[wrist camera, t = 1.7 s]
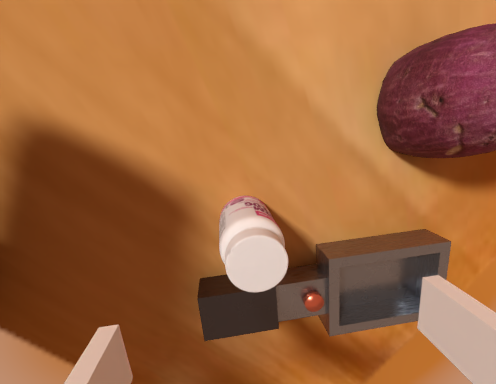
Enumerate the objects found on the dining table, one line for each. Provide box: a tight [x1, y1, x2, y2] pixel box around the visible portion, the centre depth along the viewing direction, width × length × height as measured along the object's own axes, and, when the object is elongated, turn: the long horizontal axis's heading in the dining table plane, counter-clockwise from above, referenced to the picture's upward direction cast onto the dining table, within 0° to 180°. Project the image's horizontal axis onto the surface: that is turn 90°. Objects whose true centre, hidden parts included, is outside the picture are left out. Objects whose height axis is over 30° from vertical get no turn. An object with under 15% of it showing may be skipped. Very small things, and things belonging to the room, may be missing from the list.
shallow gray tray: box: [198, 229, 451, 341], centre depth 24 cm, size 24×8×3 cm, turn 95°
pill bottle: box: [219, 196, 288, 292], centre depth 19 cm, size 5×5×8 cm
